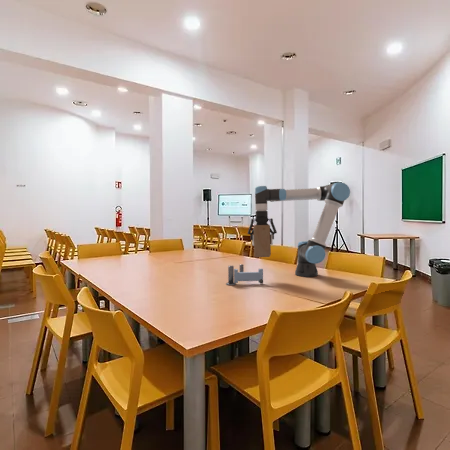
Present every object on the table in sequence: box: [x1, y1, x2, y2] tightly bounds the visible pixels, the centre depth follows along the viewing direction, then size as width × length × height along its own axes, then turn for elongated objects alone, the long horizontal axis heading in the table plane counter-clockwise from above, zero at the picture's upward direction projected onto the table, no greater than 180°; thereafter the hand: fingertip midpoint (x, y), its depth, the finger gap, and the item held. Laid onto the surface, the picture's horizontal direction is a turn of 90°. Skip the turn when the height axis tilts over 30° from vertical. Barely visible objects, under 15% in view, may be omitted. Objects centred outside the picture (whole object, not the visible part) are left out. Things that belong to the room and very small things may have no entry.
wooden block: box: [253, 223, 272, 258], centre depth 197 cm, size 10×10×20 cm
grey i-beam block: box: [234, 268, 264, 284], centre depth 186 cm, size 17×3×8 cm, turn 93°
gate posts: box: [225, 263, 245, 286], centre depth 194 cm, size 6×23×11 cm, turn 157°
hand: (262, 245), depth 197 cm, fingers closed on wooden block, 11 cm apart
